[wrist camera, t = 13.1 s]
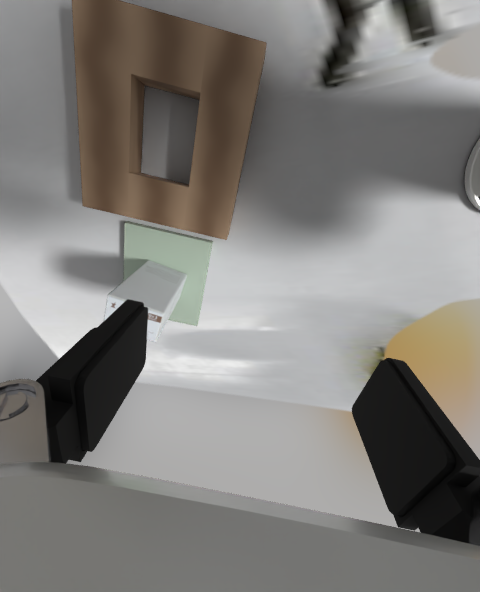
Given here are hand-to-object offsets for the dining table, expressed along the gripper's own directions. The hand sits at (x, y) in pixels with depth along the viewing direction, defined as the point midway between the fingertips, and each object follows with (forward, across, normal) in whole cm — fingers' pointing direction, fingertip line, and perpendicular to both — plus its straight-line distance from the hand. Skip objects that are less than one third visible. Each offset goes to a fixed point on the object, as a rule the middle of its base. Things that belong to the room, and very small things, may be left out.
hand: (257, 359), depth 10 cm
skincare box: (+26, +12, +10) cm, 30 cm away
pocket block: (+27, +13, -8) cm, 31 cm away
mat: (+26, +12, +10) cm, 31 cm away
